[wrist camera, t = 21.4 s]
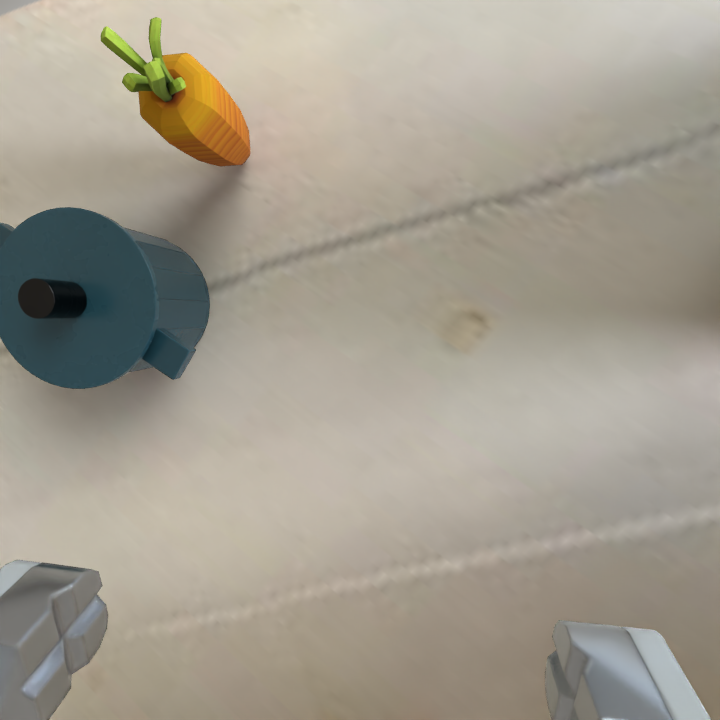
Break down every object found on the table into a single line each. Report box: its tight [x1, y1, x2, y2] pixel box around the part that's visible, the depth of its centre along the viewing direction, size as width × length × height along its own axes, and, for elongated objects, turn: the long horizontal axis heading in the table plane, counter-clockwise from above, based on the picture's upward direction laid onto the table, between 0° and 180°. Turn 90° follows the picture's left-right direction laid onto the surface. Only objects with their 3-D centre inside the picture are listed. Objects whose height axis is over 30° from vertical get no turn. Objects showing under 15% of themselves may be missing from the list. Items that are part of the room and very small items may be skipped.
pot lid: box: [0, 207, 159, 389], centre depth 29 cm, size 12×12×4 cm
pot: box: [0, 223, 210, 380], centre depth 35 cm, size 11×16×8 cm
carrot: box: [101, 17, 250, 166], centre depth 29 cm, size 5×5×15 cm
